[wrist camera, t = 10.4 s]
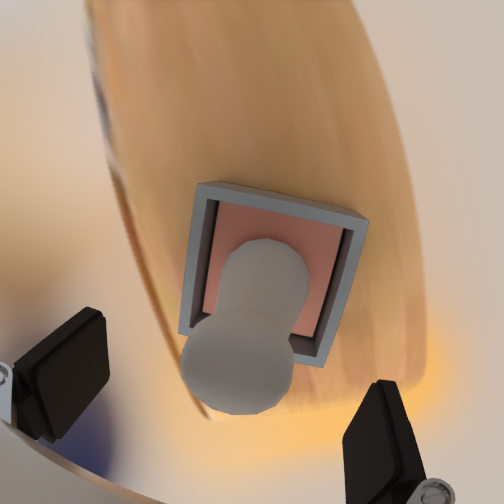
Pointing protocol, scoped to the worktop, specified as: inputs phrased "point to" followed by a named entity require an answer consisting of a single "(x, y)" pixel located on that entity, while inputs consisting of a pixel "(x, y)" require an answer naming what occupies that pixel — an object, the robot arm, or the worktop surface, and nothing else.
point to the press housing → (351, 221)
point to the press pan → (284, 230)
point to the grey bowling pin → (248, 330)
